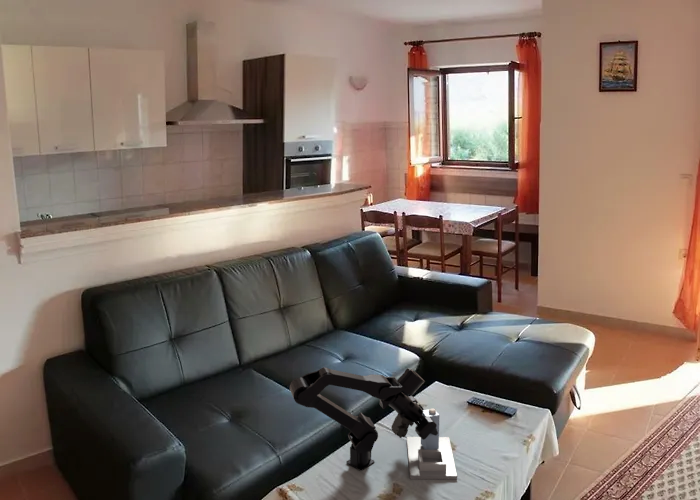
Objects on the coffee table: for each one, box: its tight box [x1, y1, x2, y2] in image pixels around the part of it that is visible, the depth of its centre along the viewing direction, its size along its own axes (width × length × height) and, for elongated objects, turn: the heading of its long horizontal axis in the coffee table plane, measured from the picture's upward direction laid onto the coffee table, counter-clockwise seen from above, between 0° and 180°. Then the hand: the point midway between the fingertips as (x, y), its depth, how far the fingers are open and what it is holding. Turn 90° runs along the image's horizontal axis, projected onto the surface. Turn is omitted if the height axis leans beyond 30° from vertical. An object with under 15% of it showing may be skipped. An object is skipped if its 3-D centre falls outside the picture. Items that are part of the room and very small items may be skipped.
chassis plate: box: [406, 436, 458, 480], centre depth 206 cm, size 22×14×4 cm, turn 178°
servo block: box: [421, 408, 440, 450], centre depth 208 cm, size 4×4×13 cm
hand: (434, 430), depth 209 cm, fingers closed on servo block, 4 cm apart
